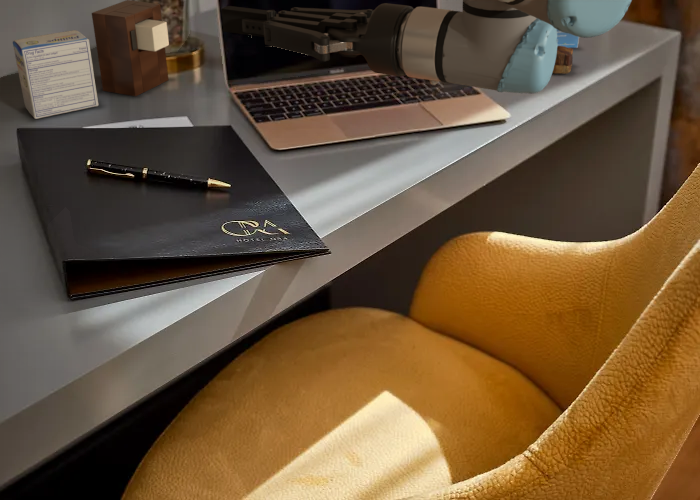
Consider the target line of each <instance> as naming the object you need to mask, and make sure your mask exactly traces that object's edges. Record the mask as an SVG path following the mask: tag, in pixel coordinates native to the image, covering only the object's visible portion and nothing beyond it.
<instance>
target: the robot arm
mask: <svg viewBox="0 0 700 500" xmlns="http://www.w3.org/2000/svg"><path fill="white" fill-rule="evenodd" d="M631 3H632V0H462V11H460V10H453V9H446V8H445V9H444V8H437V7H429V6H416V7H415V8H414V7H413V6H411V5H406V4H395V3H386V2H385V3H381V4H379V5H378V6H376V7H375V9H371V8H368V9H334V8H316V7H315V8H314V7H297V6H294V7H292V8H290V11H289V10H280V11H278V12H277V11H275V9H268V10H267V9H266V10H265V9H258V8H251V7H241V6H232V5H227V6H224V7H222V8H221V9H220V11H221V20H222V23H221V24H222V32H223V33H230V34H236V35H237V34H238V35H245V36H248V35H251V37H252V36H253V37H261V38H264V45H266V46H268V47H272V46H273V47H277V48H281V49H285V50H289V51H293V52H297V53H301V54H305V55H307V56H308V57H309V56H310V57H312V58H315V59H316V60H318V61H321V62H329V61H330V60H331V53H332V54H337V55H340V56H341V57H344V58H357V57H358V56H362V57H363V58H364V59H365V62H366V63H367V66H368V68H369V69H370V70H371V71H372V72H373V73H376V74H381V75H388V76H393V77H404V76H405V75H406V76H407V77H408V78H410V79H419V80H427V81H429V84H430V85H433V86H436V85H438V84H439V82H440V83H447V84H455V85H460V86H466V87H473V88H479V89H485V90H490V91H495V92H498V93H512V94H515V93H516V94H529V95H530V94H538V93H540V92H542V91H543V90H544V89H545V87H546V86H547V85H548V84H549V82H550V80H551V78H552V75H553V73H552V72H553V69H554V65H555V60H556V55H557V45H558V43H557V30H559V31H561V32H564V33H570V34H572V35H574V36H577V37H579V38H583V39H584V38H585V39H588V38H594V37H599V36H601V35H604V34H606V33H608V32H609V31H611V30H612V29H614V28H615V27H616V26H617V25H618V24H619V23H620V22H621V21H622V19H623V18H624V16H625V14H626V13H627V12H628V10H629V7H630V5H631ZM556 29H557V30H556Z"/></svg>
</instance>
